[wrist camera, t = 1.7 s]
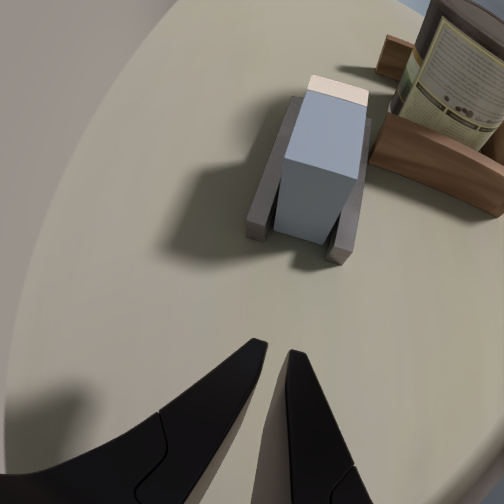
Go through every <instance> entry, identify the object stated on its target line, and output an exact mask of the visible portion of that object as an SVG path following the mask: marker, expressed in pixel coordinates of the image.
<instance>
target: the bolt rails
mask: <svg viewBox="0 0 504 504" xmlns="http://www.w3.org/2000/svg"><path fill="white" fill-rule="evenodd" d="M303 100H304V99H302V98H298V97H294V96H292V98H291V101H290V103H289V106H288V109H287V111H286V114H285V116H284V119H283V122H282V124H281V127H280V130H279V132H278V135H277V137H276V140H275V143H274V145H273V148H272V151H271V153H270V156H269V159H268V161H267V164H266V167H265V169H264V172H263V175H262V177H261V180H260V183H259V186H258V188H257V191H256V194H255V196H254V199H253V202H252V205H251V207H250V210H249V213H248V215H247V218H246V237H249V238H252V239H255V240H259V241H262V242H264V239H265V236H266V233H267V230H268V227H269V224H270V221H271V217H272V214H273V211H274V208H275V205H276V202H277V199H278V196H279V189H280V182H281V175H282V168H283V161H284V156H285V153H286V150H287V148H288V145H289V142H290V139H291V136H292V133H293V130H294V127H295V124H296V121H297V118H298V115H299V112H300V109H301V106H302V103H303ZM371 123H372V119H370V118H367V117H366V119H365V128H364V136H363V144H362V151H361V159H360V165H359V172H358V179H357V181H356V183H355V185H354V187H353V189H352V191H351V193H350V195H349V197H348V199H347V201H346V203H345V204H344V206H343V208H342V210H341V212H340V214H339V216H338V218H337V220H336V221H335V223H334V225H333V228H332V232H331V237H330V241H329V246H328V250H327V254H326V258H325V260H326V261H330V262H333V263H336V264H340V265H342V264H343V263H344V262H345V261H346V259H347V258H348V257H349V256H350V255H351V253H352V252H353V248H354V243H355V237H356V232H357V226H358V220H359V215H360V208H361V202H362V196H363V189H364V182H365V175H366V167H367V160H368V151H369V142H370V133H371Z"/></svg>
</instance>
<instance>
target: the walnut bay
mask: <svg viewBox="0 0 504 504" xmlns="http://www.w3.org/2000/svg"><path fill="white" fill-rule="evenodd" d="M413 47H414V44H411V43H409V42H406V41H404V40H401V39H398V38H396V37H393V36H390V35H387V36H386V39H385V42H384V45H383V48H382V51H381V54H380V57H379V60H378V63H377V66H376V73H377V74H380V75H383V76H386V77H389V78H391V79H394V80H397V81H399V82H400V79H401V77H402V75H403V72H404V70H405V67H406V65H407V63H408V60H409V57H410V55H411V53H412V50H413ZM368 163H369V164H372V165H375V166H377V167H380V168H383V169H386V170H389V171H391V172H394V173H397V174H400V175H402V176H405V177H407V178H410V179H413V180H415V181H418V182H420V183H423V184H425V185H428V186H430V187H433V188H435V189H437V190H440V191H442V192H444V193H447V194H449V195H451V196H454V197H456V198H458V199H460V200H462V201H465V202H467V203H469V204H471V205H473V206H475V207H477V208H480V209H482V210H484V211H486V212H488V213H490V214H492V215H494V216H496V217H500V216H501V215H502V214H503V213H504V120H503V121H502V123H501V124H500V125H499V127H498V128H497V129H496V131H495V132H494V133H493V134H492V135H491V137H490V138H489V139H488V141H487V142H486V143H485V144H484V145H483V146H482V148H481V153H479V152H477V151H475V150H473V149H471V148H470V147H468V146H466V145H464V144H462V143H460V142H458V141H456V140H453V139H451V138H449V137H447V136H445V135H443V134H441V133H438V132H436V131H434V130H432V129H429V128H427V127H425V126H422V125H420V124H418V123H415V122H413V121H410V120H408V119H405V118H403V117H400V116H398V115H395V114H392V113H390V112H388V114H387V116H386V118H385V121H384V123H383V125H382V127H381V129H380V131H379V133H378V136H377V138H376V140H375V142H374V144H373V146H372V148H371V150H370V152H369V159H368Z"/></svg>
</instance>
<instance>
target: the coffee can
mask: <svg viewBox="0 0 504 504" xmlns="http://www.w3.org/2000/svg"><path fill="white" fill-rule="evenodd" d="M388 112H390V113H392V114H395V115H398V116H400V117H403V118H405V119H408V120H410V121H413V122H415V123H418V124H420V125H422V126H425V127H427V128H429V129H432V130H434V131H436V132H438V133H441V134H443V135H445V136H447V137H449V138H451V139H453V140H456V141H458V142H460V143H462V144H464V145H466V146H468V147H470V148H471V149H473V150H475V151H477V152H478V151H479V150H480V149H481V148H482V146H483V145H484V144H485V143H486V142H487V141H488V139H489V138H490V137H491V135H492V134H493V133H494V132H495V131H496V129H497V128H498V127H499V125H500V124H501V123H502V121H503V120H504V21H502V20H501V19H500V18H499V17H497V16H496V15H494V14H493V13H492V12H490V11H489V10H487V9H485V8H484V7H482V6H480V5H479V4H477V3H475V2H473V1H472V0H431V1H430V4H429V7H428V10H427V13H426V16H425V18H424V21H423V24H422V27H421V29H420V32H419V34H418V37H417V39H416V42H415V45H414V47H413V50H412V53H411V55H410V57H409V60H408V63H407V65H406V67H405V70H404V72H403V75H402V77H401V79H400V82H399V84H398V87H397V89H396V91H395V93H394V96H393V98H392V100H391V101H390V103H389V105H388Z"/></svg>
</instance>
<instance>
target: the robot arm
mask: <svg viewBox="0 0 504 504" xmlns="http://www.w3.org/2000/svg"><path fill="white" fill-rule="evenodd" d="M267 348H268V343H267V342H266V341H263V340H259V339H256V338H252V339H250V340H249V341H248V342H247V343H245V344H244V345H243V346H242V347H241V348H239V349H238V350H237V351H236V352H234V353H233V354H232V355H231V356H229V357H228V358H227V359H226V360H224V361H223V362H222V363H221V364H219V365H218V366H217V367H216V368H214V369H213V370H212V371H210V372H209V373H208V374H207V375H205V376H204V377H203V378H201V379H200V380H199V381H197V382H196V383H195V384H194V385H192V386H191V387H190V388H188V389H187V390H186V391H184V392H183V393H182V394H180V395H179V396H178V397H176V398H175V399H174V400H172V401H171V402H169V403H168V404H167V405H165V406H164V407H163V408H161V409H160V410H159V413H158V412H155V413H154V414H153V415H151V416H150V417H148V418H147V419H146V420H144V421H143V422H141V423H140V424H138V425H137V426H135V427H134V428H132V429H130V430H129V431H127V432H126V433H124V434H122V435H120V436H118V437H117V438H115V439H113V440H111V441H109V442H107V443H105V444H103V445H101V446H99V447H97V448H95V449H93V450H90V451H88V452H86V453H84V454H81V455H79V456H77V457H75V458H72V459H70V460H68V461H65V462H63V463H61V464H58V465H56V466H53V467H51V468H48V469H45V470H42V471H38V472H33V473H26V474H0V504H199V503H200V501H201V500H202V498H203V496H204V494H205V493H206V491H207V489H208V487H209V485H210V484H211V482H212V480H213V478H214V476H215V474H216V473H217V471H218V469H219V467H220V465H221V463H222V461H223V459H224V458H225V456H226V454H227V452H228V450H229V448H230V446H231V444H232V442H233V440H234V438H235V436H236V434H237V432H238V430H239V428H240V426H241V424H242V422H243V419H244V416H245V414H246V411H247V409H248V406H249V404H250V401H251V398H252V396H253V393H254V390H255V388H256V385H257V382H258V380H259V377H260V374H261V371H262V367H263V363H264V360H265V356H266V352H267ZM251 504H373V502H372V500H371V499H370V497H369V494H368V492H367V490H366V488H365V486H364V484H363V482H362V479H361V477H360V475H359V473H358V470H357V468H356V466H354V461H353V459H352V457H351V454H350V452H349V450H348V447H347V445H346V443H345V441H344V438H343V436H342V434H341V431H340V429H339V427H338V425H337V422H336V420H335V418H334V415H333V413H332V411H331V409H330V406H329V404H328V402H327V399H326V397H325V395H324V393H323V390H322V388H321V386H320V384H319V381H318V379H317V377H316V374H315V372H314V370H313V368H312V365H311V363H310V361H309V359H308V356H307V354H306V353H304V352H300V351H297V350H293V349H291V350H289V352H288V354H287V356H286V359H285V361H284V363H283V366H282V368H281V371H280V373H279V376H278V379H277V383H276V386H275V390H274V393H273V397H272V400H271V404H270V407H269V411H268V414H267V417H266V421H265V425H264V428H263V434H262V439H261V445H260V452H259V458H258V464H257V470H256V475H255V481H254V487H253V492H252V498H251Z"/></svg>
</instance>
